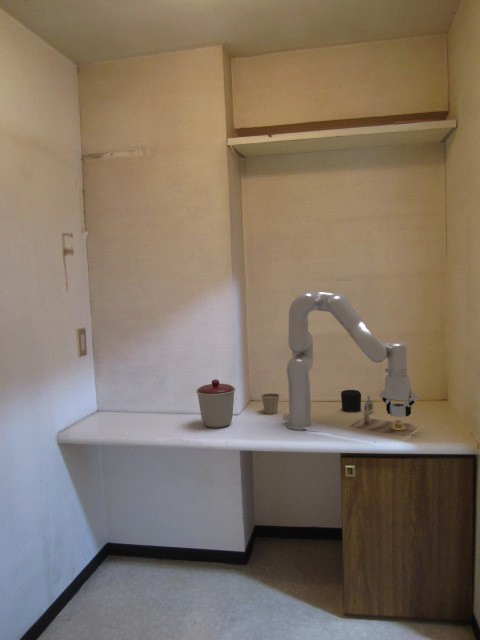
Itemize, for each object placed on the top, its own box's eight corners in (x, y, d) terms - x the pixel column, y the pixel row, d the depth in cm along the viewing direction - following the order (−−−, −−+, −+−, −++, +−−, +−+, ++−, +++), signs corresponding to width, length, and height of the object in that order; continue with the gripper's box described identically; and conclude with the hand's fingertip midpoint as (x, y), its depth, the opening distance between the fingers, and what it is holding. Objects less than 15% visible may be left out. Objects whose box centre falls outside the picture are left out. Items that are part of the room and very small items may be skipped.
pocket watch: (383, 419, 222) (383, 397, 221) (364, 419, 223) (364, 397, 222) (382, 414, 230) (381, 393, 229) (363, 414, 231) (363, 393, 230)
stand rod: (363, 423, 212) (363, 411, 212) (365, 422, 214) (365, 410, 214) (367, 424, 211) (367, 412, 211) (369, 423, 213) (369, 411, 212)
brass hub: (387, 429, 203) (387, 421, 203) (393, 425, 209) (393, 417, 208) (403, 431, 199) (403, 423, 199) (409, 427, 205) (408, 419, 204)
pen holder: (337, 412, 236) (337, 392, 235) (349, 408, 242) (348, 388, 241) (353, 416, 229) (353, 395, 228) (365, 412, 235) (364, 391, 234)
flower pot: (261, 410, 246) (260, 393, 245) (279, 409, 246) (279, 392, 245) (261, 415, 237) (260, 397, 236) (280, 414, 236) (280, 397, 236)
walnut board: (348, 429, 209) (348, 426, 209) (363, 420, 222) (363, 417, 222) (403, 438, 195) (403, 435, 195) (416, 428, 207) (416, 425, 207)
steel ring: (387, 415, 203) (387, 406, 203) (393, 411, 208) (393, 402, 208) (404, 417, 199) (403, 408, 198) (410, 413, 204) (409, 404, 204)
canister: (242, 420, 230) (240, 376, 228) (229, 431, 213) (227, 384, 211) (206, 418, 236) (204, 375, 234) (191, 429, 219) (189, 383, 217)
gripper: (373, 372, 204) (375, 414, 206) (415, 375, 194) (416, 419, 195) (380, 369, 210) (381, 409, 212) (421, 372, 200) (422, 414, 201)
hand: (398, 414), depth 204 cm, fingers closed on steel ring, 7 cm apart
